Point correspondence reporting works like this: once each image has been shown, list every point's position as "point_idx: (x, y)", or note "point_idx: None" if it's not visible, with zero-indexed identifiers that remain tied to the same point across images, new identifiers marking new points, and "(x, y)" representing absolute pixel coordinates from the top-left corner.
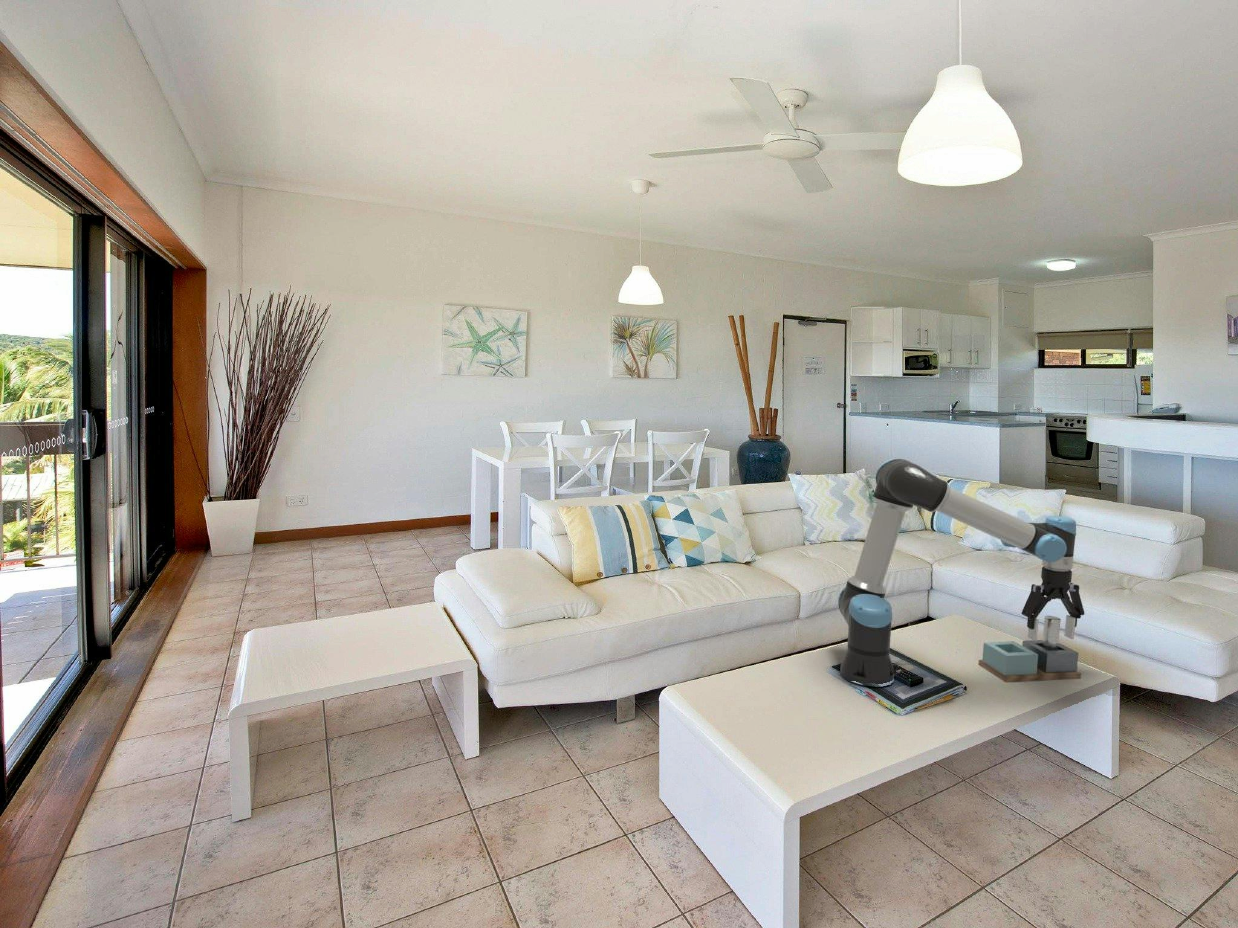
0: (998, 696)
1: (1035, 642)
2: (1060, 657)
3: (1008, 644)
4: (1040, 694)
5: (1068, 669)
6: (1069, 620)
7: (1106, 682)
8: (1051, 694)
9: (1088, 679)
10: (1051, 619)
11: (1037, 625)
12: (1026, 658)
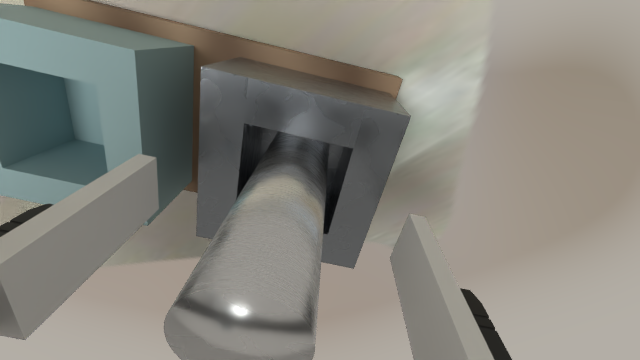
0: (6, 208)
1: (261, 115)
2: None
3: (70, 77)
4: (139, 237)
5: None
6: (431, 346)
7: None
8: (171, 246)
9: (371, 224)
10: (189, 358)
11: (72, 285)
12: None
